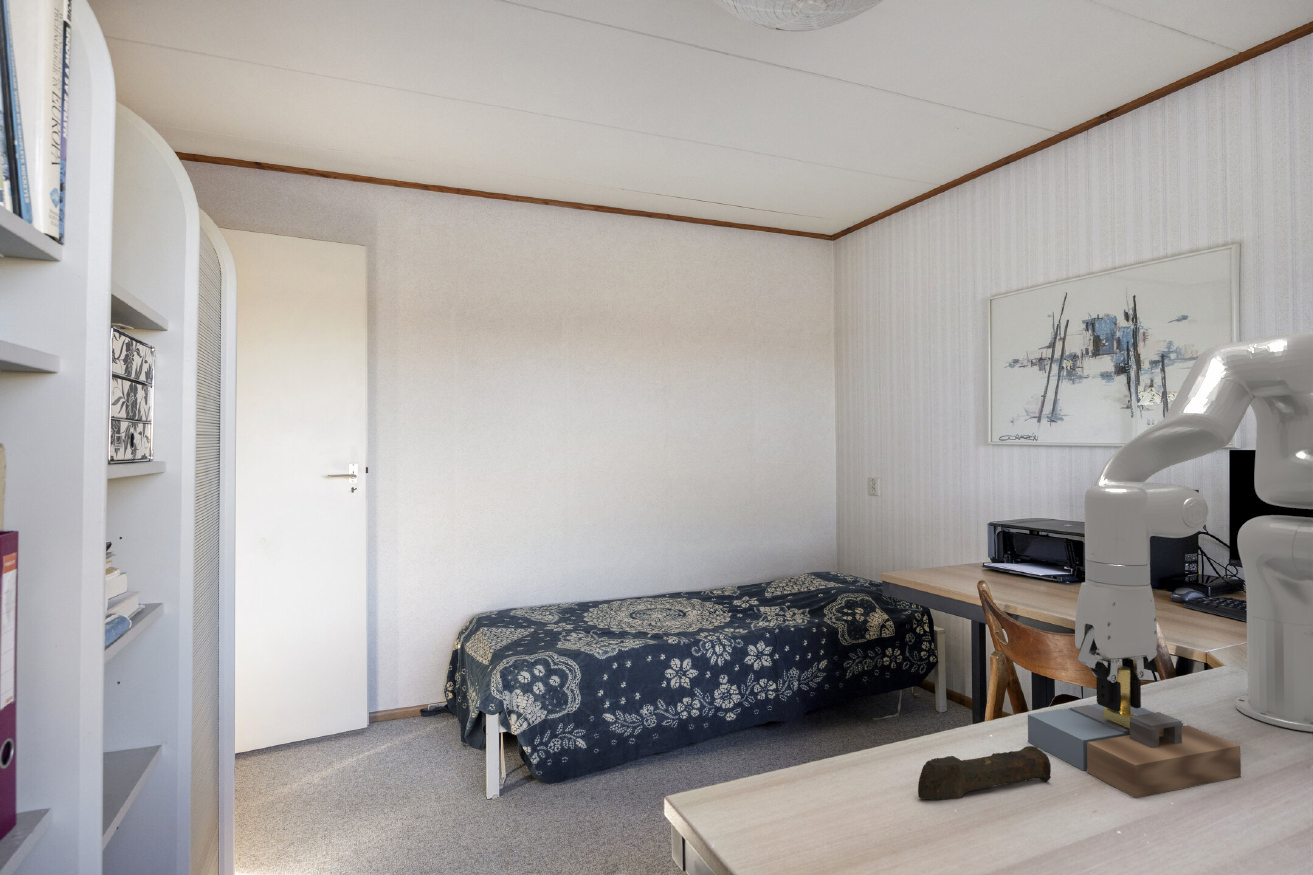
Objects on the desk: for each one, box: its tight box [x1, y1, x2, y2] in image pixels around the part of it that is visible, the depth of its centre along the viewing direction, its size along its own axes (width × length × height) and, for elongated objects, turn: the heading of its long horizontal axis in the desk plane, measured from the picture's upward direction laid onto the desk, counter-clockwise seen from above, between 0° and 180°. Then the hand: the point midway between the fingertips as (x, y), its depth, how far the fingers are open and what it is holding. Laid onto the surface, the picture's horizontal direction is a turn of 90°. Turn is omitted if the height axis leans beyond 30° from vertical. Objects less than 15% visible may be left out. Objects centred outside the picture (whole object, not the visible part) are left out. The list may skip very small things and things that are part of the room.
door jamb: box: [1086, 711, 1242, 799], centre depth 88 cm, size 18×7×7 cm, turn 106°
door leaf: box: [1027, 703, 1184, 771], centre depth 96 cm, size 18×9×4 cm, turn 106°
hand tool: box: [917, 745, 1052, 801], centre depth 85 cm, size 19×4×5 cm, turn 105°
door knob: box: [1103, 664, 1164, 737], centre depth 92 cm, size 3×7×7 cm, turn 16°
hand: (1118, 704), depth 94 cm, fingers closed on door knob, 2 cm apart
